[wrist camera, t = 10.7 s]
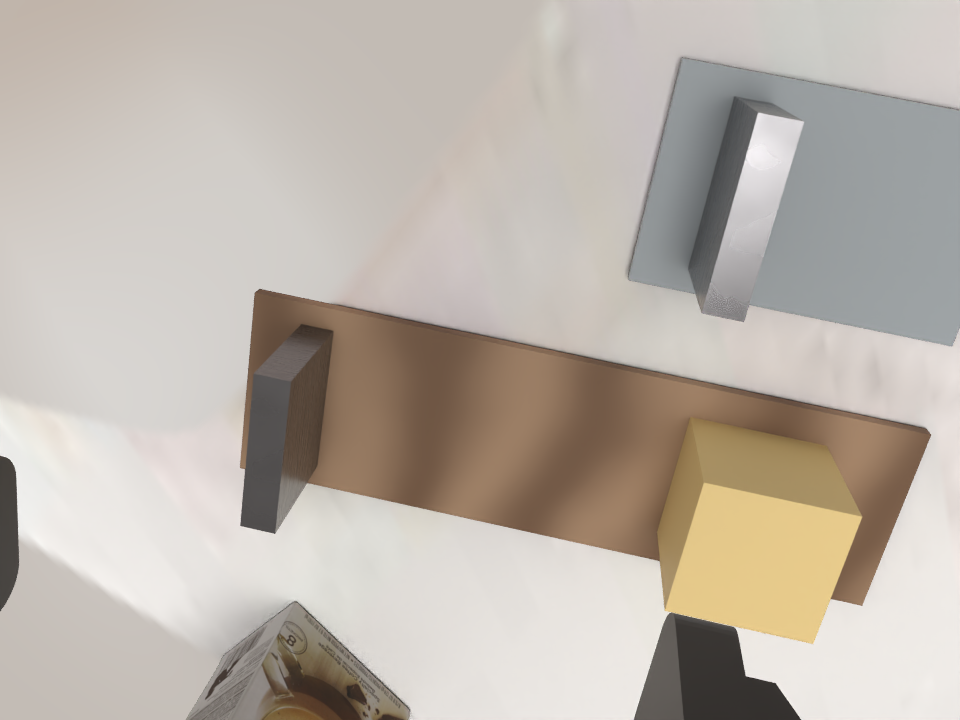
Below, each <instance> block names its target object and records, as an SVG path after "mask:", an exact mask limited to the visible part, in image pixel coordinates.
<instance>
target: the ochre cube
mask: <svg viewBox="0 0 960 720" xmlns="http://www.w3.org/2000/svg"><path fill="white" fill-rule="evenodd" d="M861 519H862V515H861V513H860V511H859V509H858V507H857V505H856V503H855V501H854V499H853V497H852V495H851V493H850V491H849V489H848V487H847V485H846V483H845V481H844V479H843V477H842V475H841V473H840V471H839V469H838V467H837V465H836V463H835V461H834V459H833V457H832V455H831V453H830V451H829V449H828V447H827V446H825V445H820V444H815V443H811V442H806V441H801V440H797V439H792V438H787V437H782V436H778V435H773V434H768V433H764V432H759V431H754V430H749V429H745V428H740V427H735V426H731V425H726V424H721V423H716V422H712V421H707V420H702V419H698V418H693V417H690V420H689V424H688V427H687V431H686V434H685V438H684V441H683V444H682V448H681V451H680V455H679V458H678V462H677V465H676V469H675V472H674V475H673V479H672V482H671V486H670V489H669V493H668V496H667V500H666V503H665V506H664V510H663V513H662V517H661V520H660V524H659V527H658V531H657V535H658V546H659V556H660V566H661V577H662V587H663V597H664V607H665V611H669V612H673V613H677V614H682V615H686V616H691V617H695V618H700V619H704V620H709V621H713V622H718V623H722V624H727V625H731V626H735V627H740V628H744V629H749V630H753V631H758V632H762V633H767V634H771V635H776V636H780V637H784V638H789V639H793V640H798V641H802V642H807V643H811V644H813V643H814V640H815V638H816V635H817V633H818V630H819V627H820V625H821V622H822V620H823V617H824V615H825V612H826V609H827V607H828V604H829V602H830V599H831V596H832V594H833V591H834V589H835V586H836V584H837V581H838V578H839V576H840V573H841V571H842V568H843V565H844V563H845V560H846V558H847V555H848V553H849V550H850V547H851V545H852V542H853V540H854V537H855V534H856V532H857V529H858V527H859V524H860V522H861Z"/></svg>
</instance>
